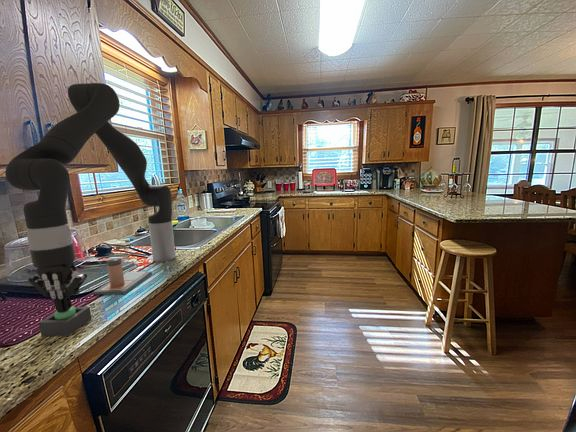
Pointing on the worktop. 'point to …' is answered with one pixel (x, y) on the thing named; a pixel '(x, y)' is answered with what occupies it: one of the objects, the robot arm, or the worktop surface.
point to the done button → (65, 314)
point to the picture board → (130, 282)
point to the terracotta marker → (115, 272)
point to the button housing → (65, 323)
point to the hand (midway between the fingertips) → (64, 310)
